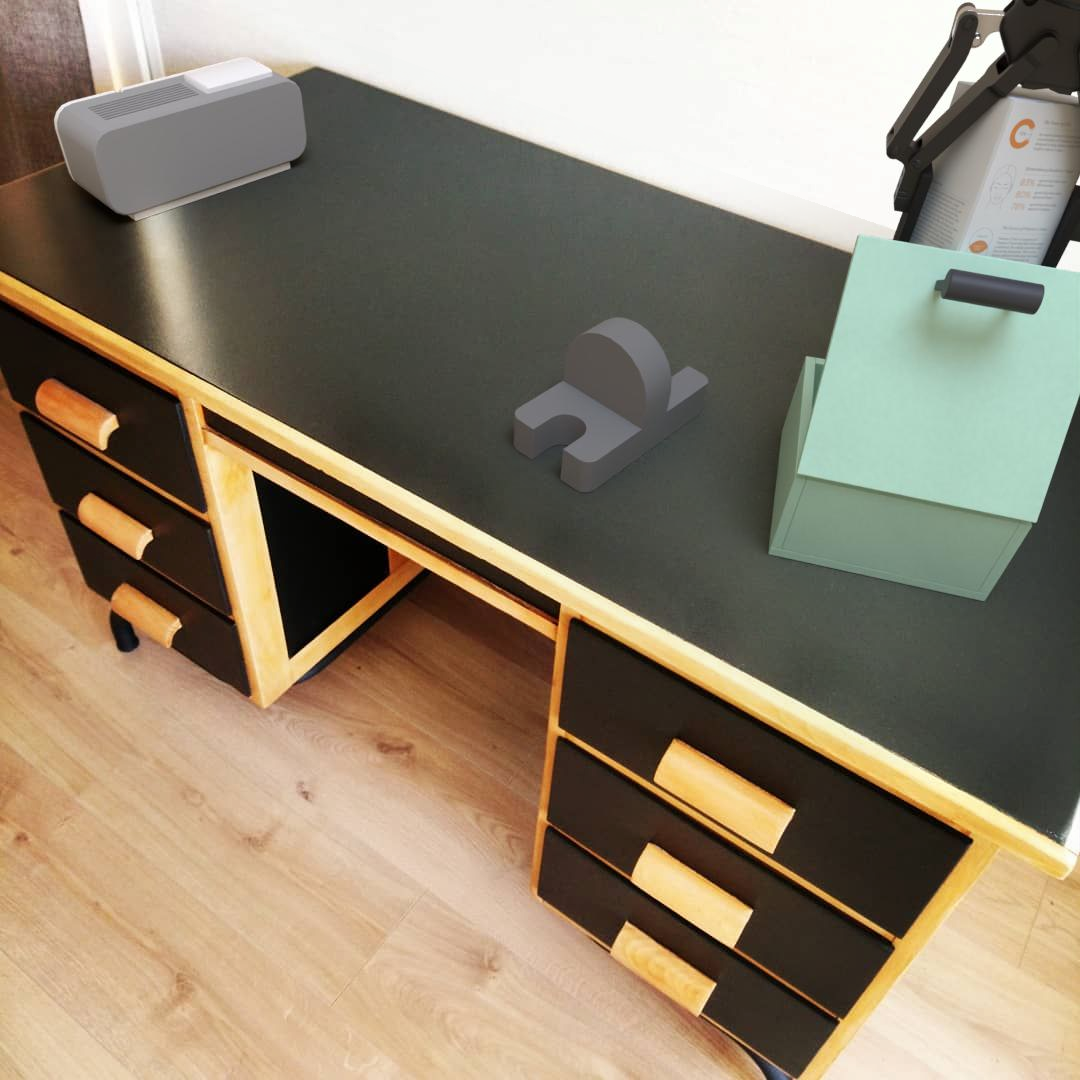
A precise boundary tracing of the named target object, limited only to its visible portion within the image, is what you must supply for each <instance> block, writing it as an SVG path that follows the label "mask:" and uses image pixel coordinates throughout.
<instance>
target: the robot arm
mask: <svg viewBox="0 0 1080 1080" xmlns="http://www.w3.org/2000/svg"><path fill="white" fill-rule="evenodd" d="M993 33H999V37H1000V39H1001V43H1002V47H1003V52H1002V53H1001V54H1000V55H999V56H998V57H997V58H996V59H995V60H994V61H992V63H991V64H990V65H989V66H988V67H987V69H986V70H985V71H984V73H983V74H982V76H981V77H980V78H978V79H977V80H976V81H975V82H976V83H975V84H974V85H972V86H971V87H970V88H969V89H968V90H967V91H966V92H965V93H964V94H963V95H962V96H961V97H960V98H959V99H958V100H957V101H956V102H955V103H954V104H953V105H952V106H951V107H950V106H949V107H950V108H949V107H948V108H947V110H946V111H944V112H943V113H942V115H940V116H939V117H938V118H937V119H936V120H935V121H934V122H933V123H932V124H931V125H930V126H929V127H928V128H927V129H925V131H924V132H923V133H922V134H921V135H920V136H919V137H918V138H916V136H917V134H918V133H919V131H920V130H921V128H922V127H923V125H924V124H925V122H926V120H928V118H929V116H930V115H931V113H932V112H933V110H934V109H935V108H936V106H937V104H938V103H939V102H940V100H941V98H942V97H943V96H944V94H945V92H947V90H948V88H949V87H950V86H951V84H952V82H953V81H954V80H955V78H956V76H957V75H958V74H959V72H960V70H961V69H962V67H963V66H964V64H965V62H967V59H968V57H969V55H970V52H971V50H972V49H978V48H979V47H981V46H982V45H983V44H984V43H985V41H986V39H987V38H988V37H989V36H990V35H992V34H993ZM1019 85H1020V87H1022V88H1024V89H1031V90H1038V89H1050V90H1052V91H1054V92H1056V93H1058V94H1064V95H1070V96H1071V95H1072V94H1073V93H1076V94H1077V97H1078V102H1079V105H1080V0H1011V1H1010V2H1009V3H1008V4H1007V5H1005V7H1004V8H1003V9H1001V10H1000V9H987V8H986V9H985V8H984V9H983V8H982V9H981V8H976V5H975V4H974V3H973V2H969V1H968V2H963V3H961V4H960V5H959V7H957V9H956V12H955V15H954V18H953V21H952V26H951V30H950V33H949V36H948V39H947V41H946V43H945V44H944V46H943V47H942V48H941V51H939V54H938V55H937V56H936V58H935V60H934V61H933V63H932V64H931V65H930V67H929V68H928V70H927V71H926V73H925V75H924V77H923V78H922V79H921V81H920V83H919V85H918V86H917V87H916V89H915V90H914V92H913V94H912V95H911V97H910V98H909V99H908V101H907V103H906V104H905V106H904V108H903V109H902V111H901V112H900V114H899V115H898V117H897V118H896V119H895V121H894V123H893V124H892V126H891V128H890V129H889V131H888V133H887V134H886V137H885V154H886V156H887V158H888V159H890V160H896V161H899V163H901V164H902V165H903V167H902V170H901V173H900V175H899V178H898V182H897V184H896V186H895V187H896V188H895V190H894V192H893V211H895V212H900V213H901V216H900V218H899V222H898V224H897V227H896V229H895V232H894V235H893V237H892V240H896V241H901V242H907V243H909V241H910V238H911V236H912V233H913V230H914V228H915V225H916V222H917V220H918V217H919V214H920V212H921V209H922V206H923V204H924V201H925V198H926V196H927V193H928V190H929V188H930V185H931V182H932V180H933V166H932V162H933V161H934V160H935V159H936V158H937V157H938V156H939V155H940V154H941V153H942V152H943V151H944V150H945V149H946V148H948V147H949V146H950V145H951V144H952V143H953V142H954V141H955V140H956V139H957V138H958V137H959V136H960V135H961V134H963V133H964V132H965V131H966V130H967V129H968V128H969V127H970V126H971V125H972V124H973V123H974V122H975V121H976V120H978V119H979V118H980V117H981V116H982V115H983V114H984V113H985V112H986V111H987V110H988V109H989V108H990V107H991V106H992V105H994V104H995V103H996V102H997V101H998V100H999V99H1001V98H1004V97H1006V96H1007V95H1008V94H1009V93H1010V92H1011V91H1012V90H1013V89H1014V88H1016V87H1017V86H1019ZM915 138H916V139H915ZM914 139H915V140H914ZM1070 241H1071V242H1077V243H1080V185H1079V184H1076V185H1075V188H1074V190H1073V192H1072V195H1071V197H1070V199H1069V202H1068V204H1067V206H1066V209H1065V211H1064V213H1063V216H1062V218H1061V220H1060V223H1059V225H1058V227H1057V229H1056V232H1055V234H1054V236H1053V239H1052V241H1051V243H1050V246H1049V248H1048V250H1047V253H1046V255H1045V257H1044V260H1043V262H1042V264H1041V266H1046V267H1052V268H1057V266H1058V265H1059V263H1060V261H1061V259H1062V258H1063V255H1064V253H1065V251H1066V249H1067V247H1068V245H1069V244H1070Z"/></svg>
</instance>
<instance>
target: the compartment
mask: <svg viewBox="0 0 1080 1080" xmlns="http://www.w3.org/2000/svg"><path fill="white" fill-rule="evenodd" d="M825 359H826V358H819V357H814V356H809V355H806V356H805V358H804V360H803V365H802V367H801V371H800V374H799V377H798V380H797V383H796V386H795V388H794V392H793V395H792V398H791V402H790V405H789V408H788V411H787V414H786V417H785V420H784V424H783V428H782V430H781V435H780V445H779V454H778V462H777V472H776V480H775V489H774V499H773V506H772V507H773V508H772V517H771V525H770V534H769V544H768V553H767V555H769V556H773V557H779V558H784V559H788V560H792V561H796V562H801V563H805V564H806V563H807V564H811V565H816V566H820V567H824V568H829V569H834V570H839V571H843V572H847V573H852V574H857V575H861V576H865V577H870V578H875V579H880V580H884V581H889V582H893V583H897V584H902V585H906V586H912V587H915V588H920V589H926V590H930V591H935V592H939V593H944V594H949V595H952V596H957V597H962V598H965V599H971V600H976V601H980V602H985V601H986V600H987V598H988V596H989V595H990V594H991V592H992V590H993V589H994V587H995V586H996V584H997V583H998V582H999V579H1000V578H1001V577H1002V575H1003V573H1004V572H1005V570H1006V568H1007V567H1008V566H1009V563H1010V562H1011V561H1012V559H1013V557H1014V556H1015V554H1016V553H1017V551H1018V550H1019V548H1020V546H1021V545H1022V543H1023V542H1024V540H1025V538H1026V537H1027V535H1028V534H1029V532H1030V530H1031V529H1032V527H1033V522H1028V521H1023V520H1018V519H1013V518H1009V517H1004V516H999V515H994V514H989V513H984V512H979V511H975V510H970V509H965V508H960V507H955V506H950V505H946V504H941V503H936V502H931V501H926V500H921V499H917V498H912V497H907V496H902V495H897V494H892V493H887V492H883V491H878V490H873V489H868V488H863V487H858V486H854V485H849V484H844V483H839V482H834V481H829V480H825V479H820V478H815V477H810V476H805V475H800V474H797V472H796V470H797V467H798V463H799V459H800V455H801V451H802V447H803V443H804V440H805V436H806V432H807V428H808V424H809V420H810V416H811V413H812V409H813V405H814V401H815V397H816V393H817V389H818V386H819V382H820V378H821V374H822V370H823V366H824V362H825Z"/></svg>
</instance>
